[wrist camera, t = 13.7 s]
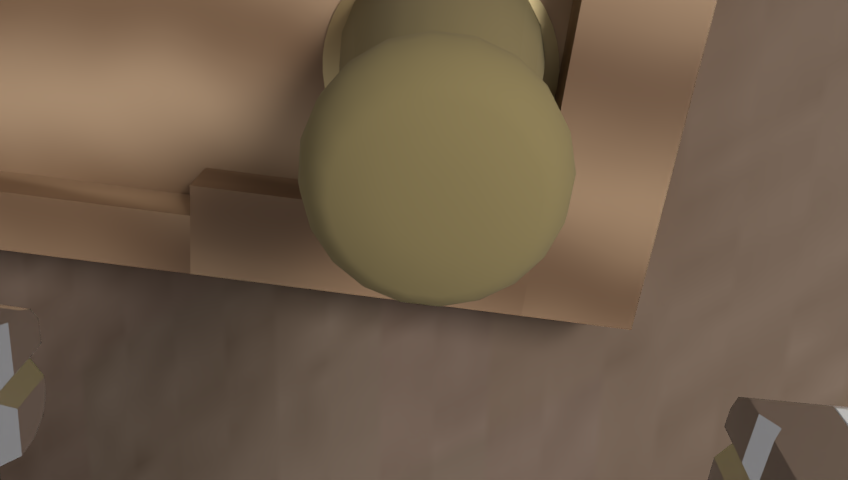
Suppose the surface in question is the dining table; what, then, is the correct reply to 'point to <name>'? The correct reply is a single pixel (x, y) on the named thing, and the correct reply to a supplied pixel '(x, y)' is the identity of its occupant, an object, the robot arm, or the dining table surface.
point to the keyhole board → (283, 127)
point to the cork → (437, 150)
